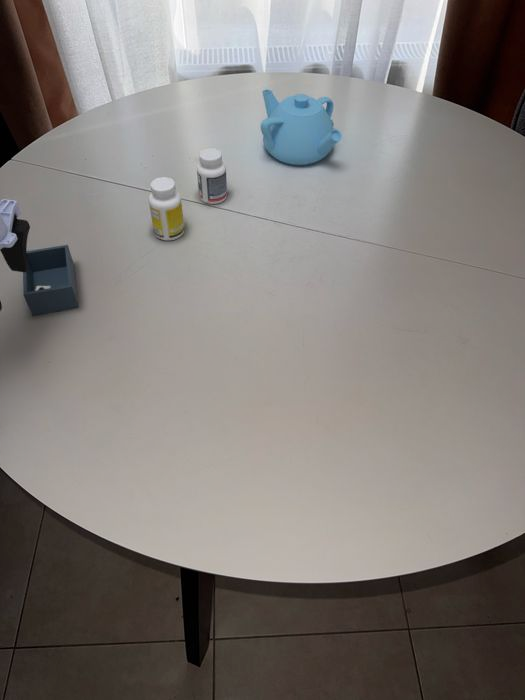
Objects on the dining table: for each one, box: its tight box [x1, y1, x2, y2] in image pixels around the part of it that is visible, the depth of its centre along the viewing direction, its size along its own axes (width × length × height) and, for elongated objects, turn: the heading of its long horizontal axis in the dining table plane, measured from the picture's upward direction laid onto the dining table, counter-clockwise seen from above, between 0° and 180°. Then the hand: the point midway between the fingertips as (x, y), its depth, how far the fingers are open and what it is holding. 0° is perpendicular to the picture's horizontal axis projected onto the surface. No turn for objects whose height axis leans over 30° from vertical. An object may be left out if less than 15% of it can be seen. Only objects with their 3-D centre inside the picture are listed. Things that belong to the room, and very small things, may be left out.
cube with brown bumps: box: [35, 286, 51, 291], centre depth 89 cm, size 2×2×2 cm
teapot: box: [260, 88, 343, 166], centre depth 116 cm, size 15×17×11 cm
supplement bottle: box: [148, 176, 185, 241], centre depth 99 cm, size 5×5×10 cm
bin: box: [22, 244, 80, 316], centre depth 91 cm, size 10×7×4 cm
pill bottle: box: [196, 147, 228, 205], centre depth 106 cm, size 5×5×9 cm
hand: (7, 289), depth 78 cm, fingers open, 7 cm apart
